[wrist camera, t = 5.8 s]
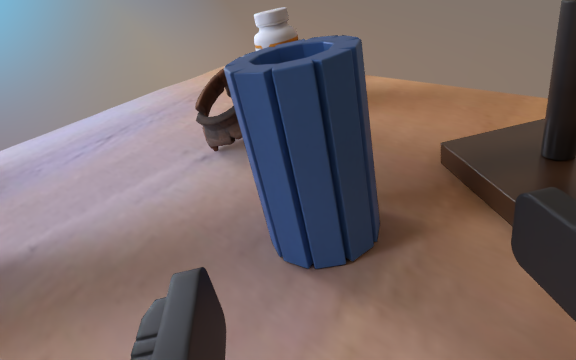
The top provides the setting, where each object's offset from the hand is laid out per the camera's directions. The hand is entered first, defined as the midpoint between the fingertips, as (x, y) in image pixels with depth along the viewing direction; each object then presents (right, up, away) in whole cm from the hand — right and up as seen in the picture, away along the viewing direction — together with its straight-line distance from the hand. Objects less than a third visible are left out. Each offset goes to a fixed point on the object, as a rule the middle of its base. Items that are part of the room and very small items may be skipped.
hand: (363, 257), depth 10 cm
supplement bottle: (-2, +14, +39) cm, 42 cm away
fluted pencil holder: (0, -1, +12) cm, 12 cm away
